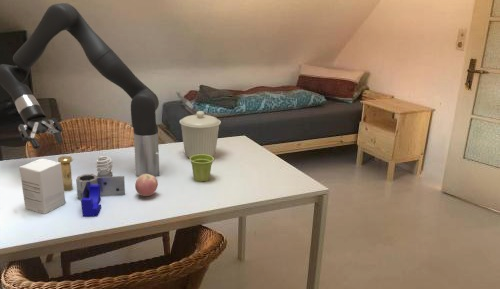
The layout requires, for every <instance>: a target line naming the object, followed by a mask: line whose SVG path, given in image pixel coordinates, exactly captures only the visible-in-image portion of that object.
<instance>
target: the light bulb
mask: <svg viewBox="0 0 500 289" xmlns="http://www.w3.org/2000/svg"><path fill="white" fill-rule="evenodd" d="M95 162H96V163H95V165H96V166H95V167H96V171H97V172H98V173H97V174H96V175H97V176H98V177H110V176H113V172H112V169H113V162H112V158H111V157H110V156H108V155H100V156H98V159H96V161H95Z"/></svg>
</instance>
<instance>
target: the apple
mask: <svg viewBox="0 0 500 289" xmlns="http://www.w3.org/2000/svg"><path fill="white" fill-rule="evenodd" d="M158 186H159V182H158V179H157V176H153V175H150V174H142V175H140V176H137V178H136V180H135V183H134V188H135V190H136V192H137V194H139V195H141V196H144V197H150V196H152V195H153V194H154V193H155V192H156V191H157V189H158Z"/></svg>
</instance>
